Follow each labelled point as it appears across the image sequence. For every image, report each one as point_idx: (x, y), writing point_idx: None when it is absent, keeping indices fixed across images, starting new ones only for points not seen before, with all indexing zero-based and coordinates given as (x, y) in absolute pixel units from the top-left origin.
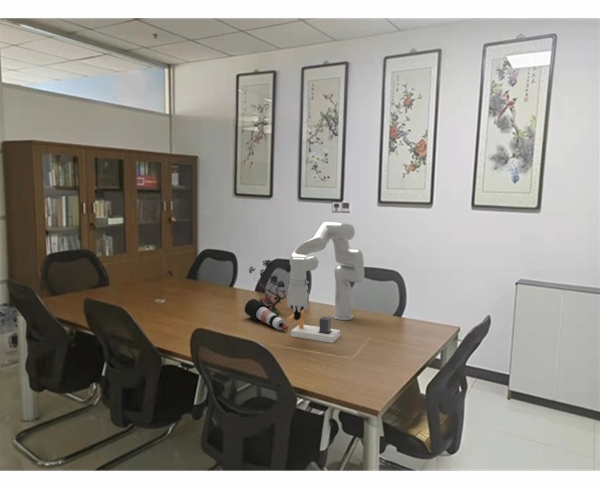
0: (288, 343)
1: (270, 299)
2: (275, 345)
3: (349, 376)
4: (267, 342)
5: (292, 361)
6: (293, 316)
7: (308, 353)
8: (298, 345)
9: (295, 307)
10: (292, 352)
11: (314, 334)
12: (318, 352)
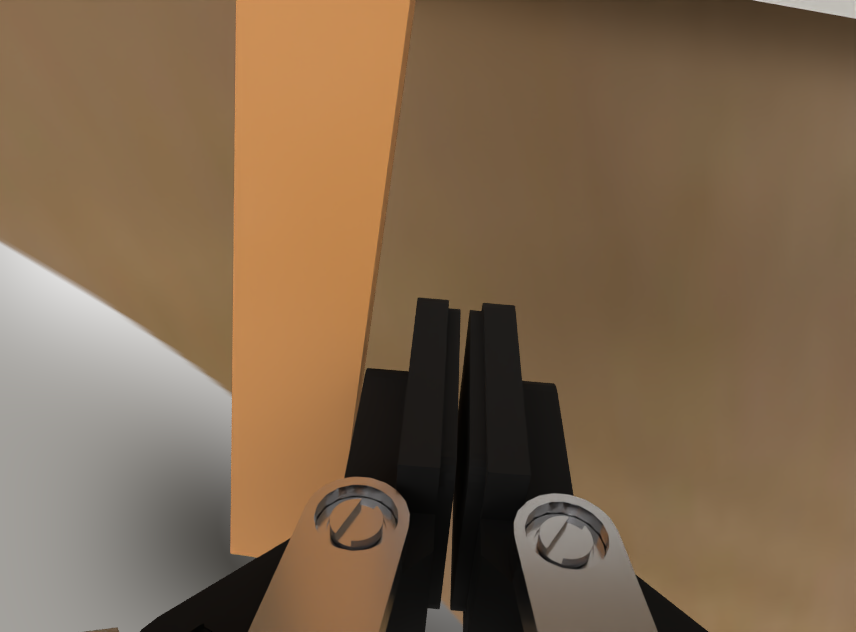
0: None
1: None
2: (216, 299)
3: None
4: (63, 226)
5: None
6: (331, 398)
7: (672, 428)
8: (510, 220)
9: (327, 622)
10: None
11: (805, 8)
12: (797, 378)
